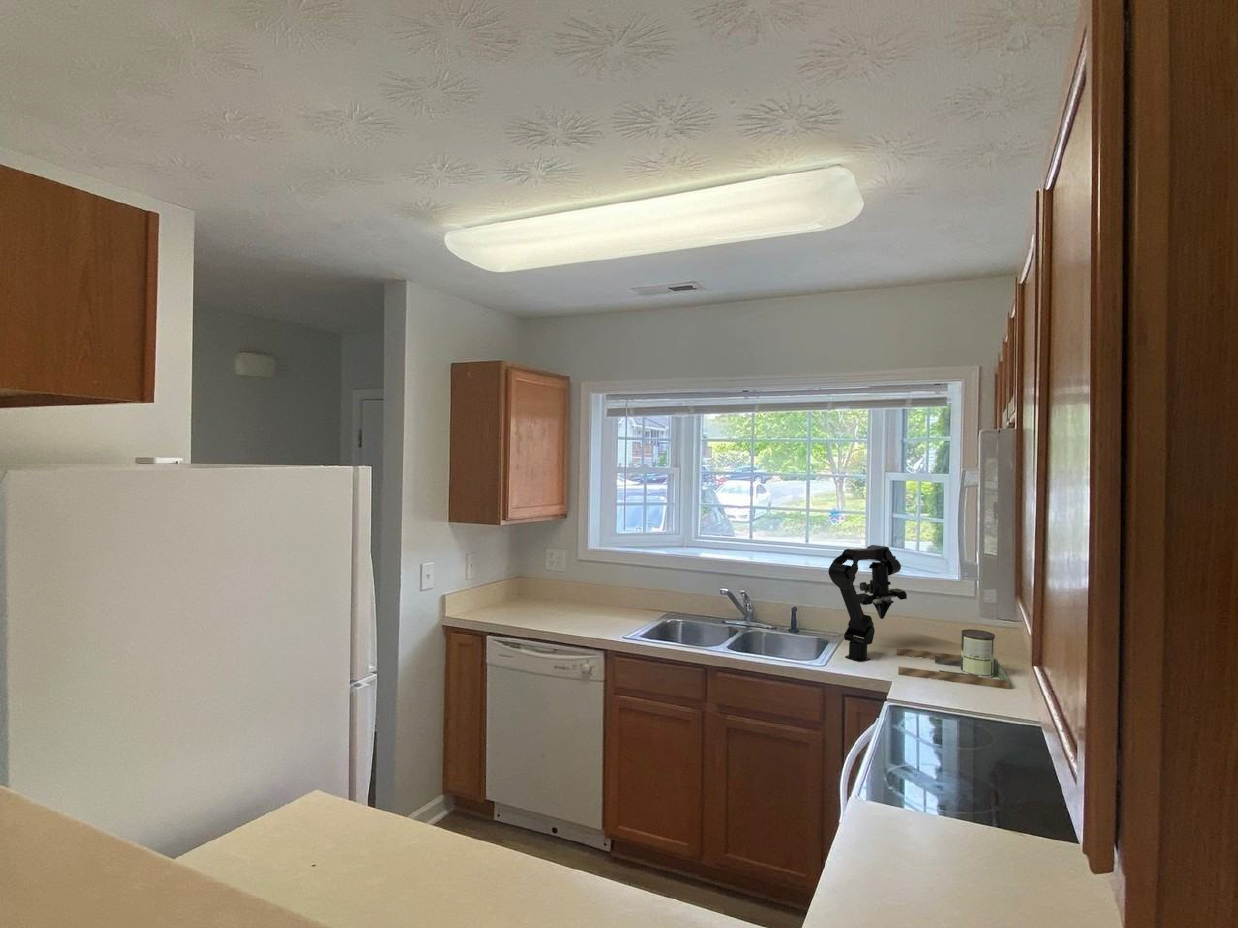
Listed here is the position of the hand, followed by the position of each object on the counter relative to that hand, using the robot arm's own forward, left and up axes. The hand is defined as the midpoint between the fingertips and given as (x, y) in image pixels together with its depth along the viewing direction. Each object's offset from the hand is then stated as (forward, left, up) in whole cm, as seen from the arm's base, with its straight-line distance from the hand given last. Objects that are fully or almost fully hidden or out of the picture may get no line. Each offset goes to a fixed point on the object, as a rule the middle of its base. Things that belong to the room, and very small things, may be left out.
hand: (881, 618), depth 259 cm
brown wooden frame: (+1, -26, -13) cm, 29 cm away
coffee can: (+7, -33, -13) cm, 36 cm away
